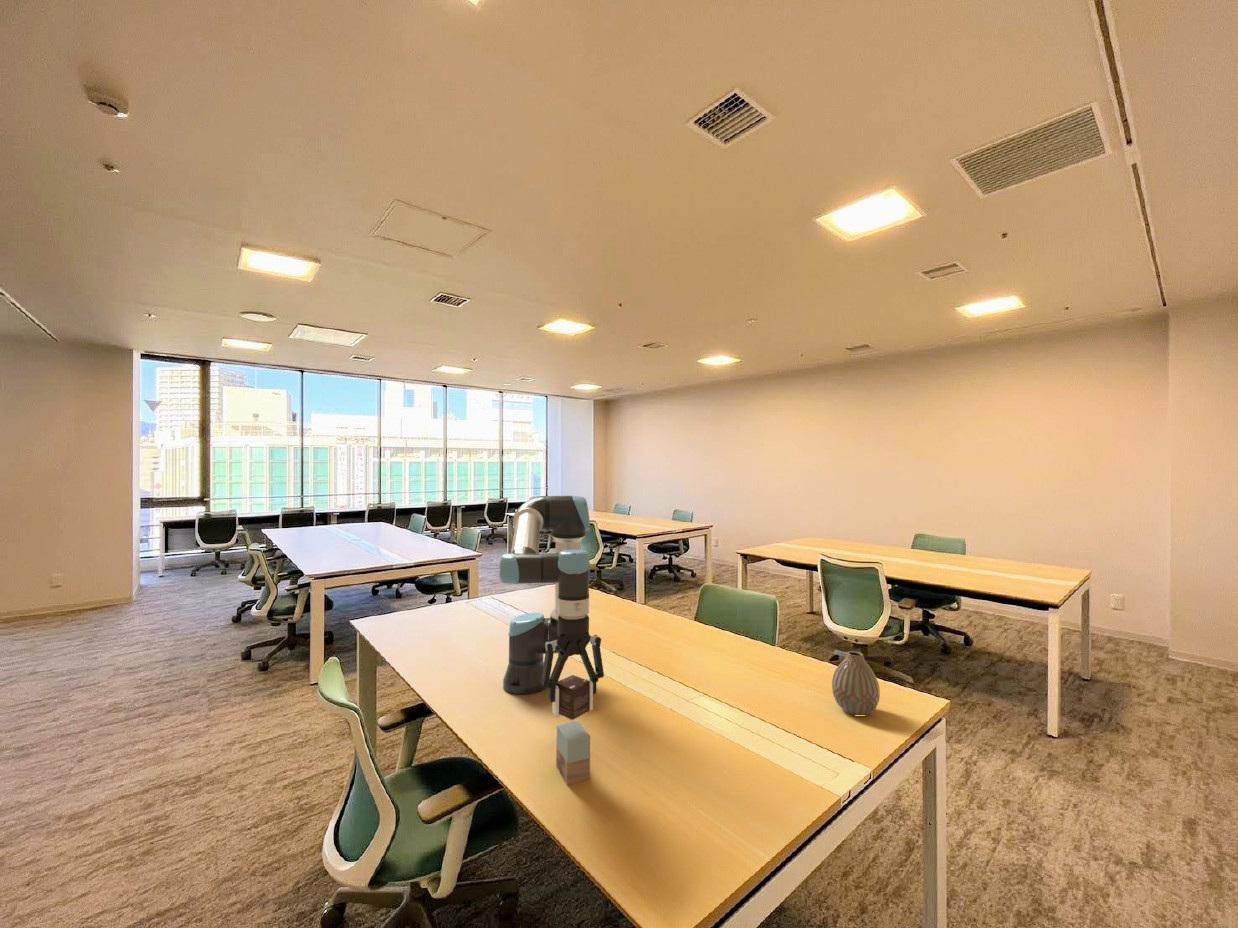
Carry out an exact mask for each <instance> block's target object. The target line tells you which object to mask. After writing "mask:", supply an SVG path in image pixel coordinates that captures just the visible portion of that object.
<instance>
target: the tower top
mask: <svg viewBox="0 0 1238 928" xmlns="http://www.w3.org/2000/svg"><path fill="white" fill-rule="evenodd" d="M556 748H558V749H559V751H560V752H561V754H562V756H563V757H564V759H565V760H566V762H567V763H571V762H575V761H579V760H583V759H587V758H590V759H591V735H590V734H589V732H588V731H587V730H586V728H584V726H583V724H582V723H581V722H580V721H579V720H577V721H572V722H567V723H562V724H557V725H556Z"/></svg>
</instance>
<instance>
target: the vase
mask: <svg viewBox="0 0 1238 928" xmlns="http://www.w3.org/2000/svg"><path fill="white" fill-rule="evenodd" d="M831 689H832V694H833V697H834V699H835V702H836V703H837V705H838V706H839V707H840V709H842V711H844V712H845V713H846V712H847V713H846V714H848V713H849V715H850V714H852V715H851V716H853V715H867V716H869V715H870V714H872V713H874V711H875V710H876V709H877V706H878V705H879V702H880V695H881V690H880V684H879V680H878V678H877V677H876V674H875V673H874V671H873V670H872V668H871V666H870V665H869V664H868V663H867V661H866V660H865V657H864V654H863V653H861V652H859V651H854V650H850V651H847V652H846V656H845V658H844V659H843V660H842V661H841V662H840V663H839V664H838V666H837V667H836V669H835V670H834V672H833V675H832V679H831Z"/></svg>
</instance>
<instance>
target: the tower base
mask: <svg viewBox="0 0 1238 928" xmlns="http://www.w3.org/2000/svg"><path fill="white" fill-rule="evenodd" d="M555 750H556V751H555V752H556V753H555V755H556V757H555V758H556V760H555V762H556V765H555V767H556V769H557V771H558V772H559V774H560V776H561V777H562V779H563V780H564V783H565V784H566V785H567V786H569V785H573V784H576V783H580V782H585V781H588V780H590V779H591V771H590V770H591V757H590V758H587V759H583V760H579V761H575V762H571V763H567V762H566V760H565V759H564V757H563V756H562V754H561V752H560V751H559V749H558V748H557V747H556V749H555Z"/></svg>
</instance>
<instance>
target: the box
mask: <svg viewBox="0 0 1238 928" xmlns="http://www.w3.org/2000/svg"><path fill="white" fill-rule="evenodd" d="M557 687H558V688H559V716H563V717H565V718H567V719H569V720H570V721H574V720H575V719H578V718H579V717H581V716H582V715H583V716H584V714H587V713H588V712H589V711H590V710H589V702H590V681H588V680H586V679H585V678H583V677H579V676H577V675H574V674H572V675H569V676H567V677H565V678H563V679H561V680H560V679H559V680H558V683H557Z"/></svg>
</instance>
